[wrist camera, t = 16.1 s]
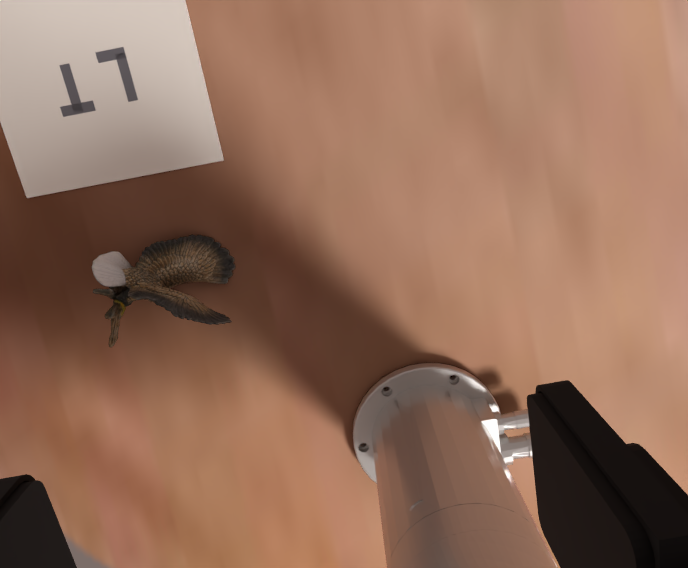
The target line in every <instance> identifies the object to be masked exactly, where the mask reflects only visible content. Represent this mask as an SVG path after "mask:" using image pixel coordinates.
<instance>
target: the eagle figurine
mask: <svg viewBox="0 0 688 568" xmlns="http://www.w3.org/2000/svg"><path fill="white" fill-rule="evenodd" d="M220 245H221V244H220V243H219V242H214V239H212V238H209V237H206V236H204V237H203V236H201V235H197V236H195V235H190V236H189V237H180V238H178V239H177V240H176V239H173V240H167V241H166V242H164V241H161V242H156V243H153V244H151V245H150V246H149V247H146V248H145V250H144V251H143V252H142V256H141V257H140V258H139V262H137V263H136V267H132V266H131V264H130V263H129V262H128V261H127V260H126V259H125V258H124V256H123V255H122V254H121V253H120V252H116V251H115V252H114V251H112V252H109V253H106V254H101V255H99V256H98V257H97V258H96V259H95V260H93V265H92V271H93V275H94V276H95V278H96V280H97V281H98V282H99V283H100V284H101V285H103V286H106V287H109V288H110V289H94V290H93V293H95V294H102V295H105V296H108V297H109V298H111V299H114V301H113V306H112V307H111V308H110V309H109V310H108V312H107V313H106V314H105V318H106V319H111V335H110V338H109V347H113V345H114V344H115V342H116V341H117V339H118V328H119V320H120V318H121V317H122V316H123V314H124V311H125V309H126V306H128V305H131V303H132V302H133V301H136V300H142V299H144V300H149V301H150V302H154V303H155V304H156V305H160V306H161V307H164V308H165V309H166V310H168V311H171V313H172V314H173V315H174V316H175V317H179V318H181V319H184V318H186V319H187V320H193V321H196V322H201V323H206V324H220V323H222V324H225V323H227V322H228V323H230V322H232V321H231V320H230V318H228V317H226V316H225V315H223V314H220V313H217V312H215V311H213V310H211V309H209V308H207V307H206V306H205V305H204V304H203V303H201V302H200V301H199V300H198V299H196V298H195V297H193V296H190V295H187V294H185V293H182V292H179V291H176V290H172V289H170V288H172V287H173V286H175V285H178V284H182V283H188V282H201V281H204V282H210V283H219V284H222V283H224V284H225V283H227V282H228V278H230V277H231V276H232V275H233V274H232V270H234V269H235V264H234V263H233V262H234V261H235V259H234V258H233V257H232V256H230V255H229V251H228V250H227V249H225V248H220Z"/></svg>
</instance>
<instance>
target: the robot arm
mask: <svg viewBox="0 0 688 568" xmlns="http://www.w3.org/2000/svg"><path fill="white" fill-rule="evenodd" d="M452 375H455V376H454V377H450V376H452ZM384 387H389V388H387V389H384ZM527 407H528V409H524V410H518V411H513V412H512V413H506V414H501V412H500V409H499V406H498V404H497V403H496V401H495V399H494V397H493V395H492V394H491V393H490V391H489V390H488V388H487V387H486V386H485V385H484V384H483V383H482V382H481V381H480V380H479V379H478V378H476V377H475V376H473V375H472V374H470V373H468V372H467V371H465V370H462V369H460V368H457V367H454V366H451V365H446V364H440V363H421V364H415V365H410V366H407V367H404V368H401V369H398V370H396V371H394V372H392V373H390V374H388V375H387V376H385V377H383V378H382V379H381V380H380V381H378V382H377V383H376V384H375V385H374V386H372V387H371V389H370V390H369V391H368V392H367V394H366V395H365V396H364V397H363V399H362V401H361V403H360V405H359V407H358V409H357V412H356V415H355V419H354V423H353V443H354V449H355V453H356V457H357V459H358V461H359V463H360V465H361V467H362V469H363V470H364V471H365V473H366V474H367V475H368V476H369V478H370V479H371V480H373V481H374V482H375V483H376V484H377V488H378V497H379V505H380V514H381V522H382V530H383V539H384V547H385V555H386V564H387V568H558V567H557V565H556V563H555V561H554V559H553V557H552V555H551V553H550V551H549V549H548V547H547V545H546V543H545V541H544V539H543V537H542V535H541V533H540V531H539V529H538V527H537V525H536V523H535V521H534V519H533V517H532V515H531V513H530V511H529V509H528V507H527V505H526V503H525V501H524V499H523V497H522V495H521V493H520V491H519V489H518V487H517V485H516V483H515V481H514V479H513V477H512V475H511V473H510V471H509V469H508V467H507V465H511V464H513V459H519V458H525V457H529V458H532V457H533V466H534V476H535V486H536V496H537V506H538V515H539V520H540V524H541V528H542V530H543V533H544V535H545V538H546V540H547V542H548V544H549V546H550V548H551V550H552V552H553V553H554V555H555V557H556V559H557V561H558V563H559V565H560V567H561V568H688V495H687V494H686V493H685V492H684V491H683V490H682V489H681V487H680V486H679V485H678V484H677V483H676V482H675V481H674V480H673V479H672V478H671V477H670V476H669V475H668V474H667V472H666V471H665V470H664V469H663V468H662V467H661V466H660V465H659V464H658V463H657V462H656V461H655V460H654V459H653V458H652V456H651V455H650V454H649V453H648V452H647V451H646V450H645V449H644V448H643V447H641V446H640V445H639V444H635V443H631V444H625V442H624V441H623V440H622V439H621V438H620V437H619V436H618V435H617V434H616V432H615V431H614V430H613V429H612V428H611V427H610V426H609V425H608V423H607V422H606V421H605V420H604V419H603V418H602V417H601V416H600V414H599V413H598V412H597V411H596V410H595V409H594V408H593V407H592V406H591V404H590V403H589V402H588V401H587V400H586V399H585V398H584V397H583V395H582V394H581V393H580V392H579V391H578V390H577V389H576V388H575V386H574V385H573V384H572V383H571V382H570V381H568V380H566V381H560V382H554V383H549V384H543V385H537V387H536V394H531V395H528V396H527ZM525 427H530V433H525V434H523V435H520V436H514V437H507V435H506V434H505V433H504V430H508V429H514V428H516V429H519V428H525ZM362 443H365V444H362ZM0 568H77V567H76V565H75V562H74V559H73V557H72V554H71V552H70V549H69V547H68V544H67V542H66V539H65V537H64V534H63V532H62V529H61V527H60V524H59V522H58V519H57V517H56V514H55V512H54V509H53V507H52V504H51V502H50V499H49V497H48V494H47V492H46V489H45V487H44V485H43V483H41V482H40V481H37V480H36V481H35V479H34V478H33V477H32V476H30V475H27V474H26V475H21V476H15V477H9V478H3V479H0Z"/></svg>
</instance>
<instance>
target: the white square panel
mask: <svg viewBox="0 0 688 568" xmlns="http://www.w3.org/2000/svg"><path fill="white" fill-rule="evenodd" d="M0 123H1V125H2V128H3V131H4V134H5V137H6V140H7V143H8V146H9V148H10V151H11V154H12V157H13V160H14V163H15V166H16V169H17V171H18V174H19V177H20V180H21V183H22V186H23V189H24V192H25V195H26V197H27V198H31V197H36V196H41V195H46V194H51V193H57V192H62V191H67V190H72V189H78V188H83V187H88V186H93V185H98V184H104V183H109V182H114V181H119V180H125V179H130V178H135V177H140V176H145V175H151V174H156V173H161V172H166V171H172V170H177V169H182V168H187V167H193V166H198V165H203V164H208V163H213V162H219V161H224V158H223V154H222V150H221V146H220V142H219V137H218V133H217V129H216V125H215V121H214V117H213V113H212V108H211V104H210V100H209V96H208V92H207V88H206V84H205V79H204V75H203V71H202V67H201V63H200V59H199V55H198V50H197V46H196V42H195V38H194V34H193V30H192V26H191V21H190V17H189V13H188V9H187V5H186V1H185V0H0Z"/></svg>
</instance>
